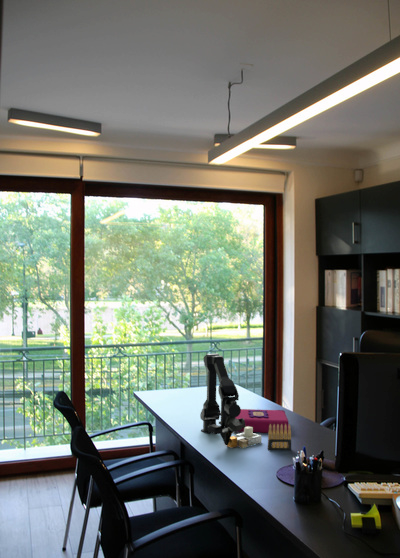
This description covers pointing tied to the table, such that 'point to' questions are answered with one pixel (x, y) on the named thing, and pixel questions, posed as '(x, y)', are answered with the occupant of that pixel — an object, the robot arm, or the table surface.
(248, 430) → the cream tapered cylinder
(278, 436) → the ammunition clip
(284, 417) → the book
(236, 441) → the pin
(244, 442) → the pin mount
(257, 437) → the socket
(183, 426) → the table surface
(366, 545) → the table surface
